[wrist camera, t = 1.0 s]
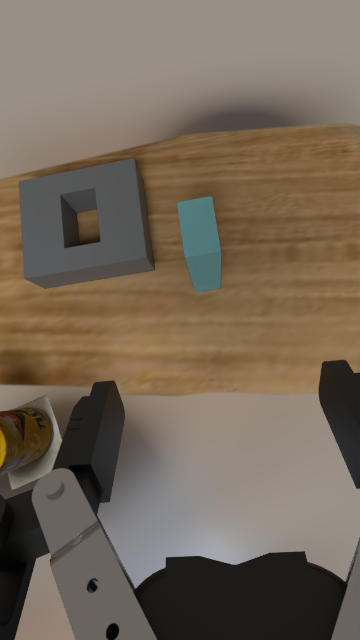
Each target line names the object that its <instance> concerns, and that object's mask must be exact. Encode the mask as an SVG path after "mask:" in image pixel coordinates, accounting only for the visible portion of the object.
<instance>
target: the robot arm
mask: <svg viewBox="0 0 360 640" xmlns="http://www.w3.org/2000/svg"><path fill="white" fill-rule="evenodd" d="M319 400H320V404H321V407H322V409H323V411H324V414H325V416H326V418H327V420H328V423H329V425H330V428H331V430H332V432H333V435H334V437H335V439H336V442H337V444H338V446H339V449H340V451H341V453H342V456H343V458H344V460H345V463H346V465H347V467H348V470H349V472H350V474H351V477H352V479H353V481H354V484H355V486H356V488H357V489H358V488H360V373H354V372H353V371H352V369H351V367H350V366H349V364H348V362H347V361H346V360H336V361H326V362H323V363H322V368H321V376H320V383H319ZM124 420H125V412H124V406H123V403H122V400H121V397H120V394H119V391H118V389H117V386H116V383H115V381H103V382H95V383H94V384H93V387H92V390H91V393H90V396H85V397H82V398H81V399H80V401H79V402H78V403H77V404H76V405H75V407H74V408H73V411H72V414H71V417H70V421H69V423H68V425H67V428H66V431H65V434H64V437H63V440H62V442H61V445H60V448H59V451H58V454H57V457H56V460H55V462H54V465H53V468H52V470H51V471H50V472H48V473H47V474H45V475H44V476H43V477H42V478H41V479H40V480H39V481H38V482H37V484H36V485H35V487H34V488H33V489H31V490H29V491H27V492H24V493H21V494H19V495H16V496H14V497H11V498H8V499H6V500H5V499H4V498H3V497H2V496H1V495H0V640H14V639H15V635H16V632H17V628H18V624H19V620H20V617H21V613H22V610H23V606H24V602H25V598H26V595H27V591H28V587H29V583H30V580H31V576H32V572H33V568H34V565H35V561H36V558H38V557H41V556H43V555H45V554H47V553H51V559H50V566H51V569H52V573H53V575H54V578H55V581H56V584H57V587H58V590H59V593H60V596H61V599H62V602H63V605H64V607H65V610H66V613H67V616H68V619H69V622H70V625H71V627H72V631H73V633H74V636H75V639H76V640H360V538H359V541H358V544H357V548H356V550H355V554H354V557H353V560H352V562H351V565H350V568H349V572H348V575H347V578H346V581H343V580H342V579H341V578H340V577H338V576H337V575H335V574H334V573H332V572H331V571H328V570H327V569H325V568H323V567H321V566H318V565H316V564H313V563H309V562H307V559H306V555H305V552H280V553H268V554H265V555H263V556H260V557H257V558H255V559H252V560H249V561H246V562H243V563H241V564H238V565H231V564H228V563H224V562H220V561H216V560H212V559H209V558H205V557H201V556H188V557H167V558H166V568H164V569H161V570H159V571H157V572H155V573H153V574H152V575H151V576H149V577H148V578H146V579H145V580H144V581H143V582H142V583H141V584H140V585H139V586H138V587H137V588H135V587H134V585H133V583H132V581H131V579H130V577H129V575H128V573H127V572H126V570H125V568H124V566H123V564H122V562H121V560H120V558H119V556H118V554H117V553H116V551H115V549H114V547H113V545H112V543H111V541H110V539H109V537H108V535H107V533H106V531H105V529H104V527H103V525H102V523H101V521H100V519H99V518H98V516H97V513H98V508H99V504H100V503H104V502H110V497H111V492H112V486H113V481H114V475H115V469H116V464H117V459H118V453H119V448H120V442H121V437H122V432H123V426H124Z"/></svg>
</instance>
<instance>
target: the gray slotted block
mask: <svg viewBox="0 0 360 640" xmlns="http://www.w3.org/2000/svg"><path fill="white" fill-rule="evenodd" d="M19 194H20V211H21V229H22V246H23V264H24V279H26V280H28V281H30V282H32V283H34V284H37V285H39V286H41V287H43V288H45V289H46V288H51V287H57V286H63V285H69V284H75V283H81V282H87V281H93V280H99V279H105V278H111V277H117V276H123V275H128V274H134V273H140V272H146V271H152V270H155V269H154V262H153V254H152V246H151V238H150V230H149V222H148V214H147V206H146V199H145V191H144V183H143V179H142V176H141V174H140V171H139V169H138V166H137V163H136V161H135V158H131V159H127V160H122V161H117V162H112V163H107V164H102V165H97V166H92V167H87V168H82V169H77V170H72V171H67V172H62V173H57V174H52V175H47V176H42V177H37V178H33V179H28V180H23V181H19ZM94 209H97V212H98V222H99V232H100V242H97V243H92V244H86V245H80V246H79V236H78V224H77V213H78V212H83V211H89V210H94Z"/></svg>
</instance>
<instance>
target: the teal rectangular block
mask: <svg viewBox="0 0 360 640" xmlns="http://www.w3.org/2000/svg"><path fill="white" fill-rule="evenodd" d="M177 206H178V213H179V220H180V227H181V234H182V240H183V247H184V254H185V259H186V263H187V266H188V269H189V273H190V276H191V279H192V282H193V286H194V289H195V292H199V291H205V290H211V289H218V288H221V248H220V242H219V236H218V230H217V224H216V218H215V212H214V205H213V199H212V196H209V197H203V198H198V199H193V200H187V201H182V202H177Z"/></svg>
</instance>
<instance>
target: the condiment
mask: <svg viewBox="0 0 360 640" xmlns="http://www.w3.org/2000/svg"><path fill="white" fill-rule="evenodd" d="M61 442H62V439H61V435H60V432H59V429H58V425H57V422H56V419H55V416H54V413H53V410H52V407H51V404H50V401H49V398H48V396H47V395H45V396H42V397H40V398H38V399H36V400H33V401H31V402H29V403H27V404H25V405H22V406H20V407H18V408H15V409H13V410H9V411H2V412H0V476H1V475H3V474H5V473H8V476H9V481H10V484H11V487H12V490H13V489H15V488H18V487H20V486H22V485H24V484H27V483H29V482H31V481H34V480H36V479H39V478H41V477H43V476H44V475H45V474H47V473H48V472H50V471H51V470H52V468H53V465H54V462H55V460H56V457H57V454H58V451H59V448H60V445H61Z"/></svg>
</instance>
